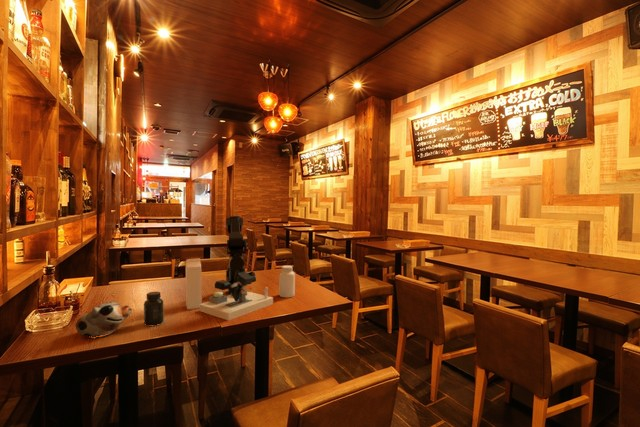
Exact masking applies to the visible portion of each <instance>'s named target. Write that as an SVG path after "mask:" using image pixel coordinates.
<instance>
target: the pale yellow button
mask: <svg viewBox="0 0 640 427" xmlns="http://www.w3.org/2000/svg"><path fill="white" fill-rule="evenodd" d="M223 295H224V293H223V292H222V291H215V292H214V293H213V296H214V298H221V297H223Z"/></svg>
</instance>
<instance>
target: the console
mask: <svg viewBox="0 0 640 427" xmlns="http://www.w3.org/2000/svg"><path fill="white" fill-rule="evenodd" d="M268 289H269V287H267V286H265V287H264V295H263V294H259V293H255V292H251V291H248V290H247V289H244V288H243V291H246V301H245V302H238V301H235V300H234V298H233V296H232V294H229V295H224V294H223V297H221V298H214V295H211V296H209V301H206V302H202V304H200V308H199V312H201V313H205V314H208V315H210V316H213V317H216V318H220V319H223V320H226V321H227V322H228V321H232V320H234V319H236V318H239V317H242V316H245V315H247V314H248V315H249V314H250V313H253V312H255V311H258V310H261V309H264V308H266V307H269V306H271V305H274V297H272V296H269V292H268V291H269V290H268Z"/></svg>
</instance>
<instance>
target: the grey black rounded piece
mask: <svg viewBox="0 0 640 427" xmlns="http://www.w3.org/2000/svg"><path fill="white" fill-rule="evenodd" d="M132 309H133V308H131V307H129V305H122V304H121V303H118V302H115V301H114V302H113V301H111V302H105V303H101V304H99V305H97V306H93V308H92V310H91V311H89V312H88V313H86V314H84V315H82V316H80V317H79V318H78V319H77V321H76V323H75V329H76V331H77V332H78V334H80V335H81V336H82V337H88V338H89V336H90V337H91V336H92V337H96V336H100V335H105V334H109V333H111V334H112V333H113V332H115V331H116V329H117V328H118V327H119V326H120V325H121V324H122V323H123V321H124V320H126V319H127V318H128V317H129V316H130V315H131V313H132Z"/></svg>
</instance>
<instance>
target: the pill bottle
mask: <svg viewBox="0 0 640 427" xmlns="http://www.w3.org/2000/svg"><path fill="white" fill-rule="evenodd" d="M278 282H279V283H278V284H279V285H278V288H279V289H278V294H279V297H281V298H287V299H288V298H292V297H295V296H296V294H295V293H296V290H295V289H296V288H295V287H296V273H295V272H294V270H293V266H292V265H282V266H281V271H280V273H279V277H278Z"/></svg>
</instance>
